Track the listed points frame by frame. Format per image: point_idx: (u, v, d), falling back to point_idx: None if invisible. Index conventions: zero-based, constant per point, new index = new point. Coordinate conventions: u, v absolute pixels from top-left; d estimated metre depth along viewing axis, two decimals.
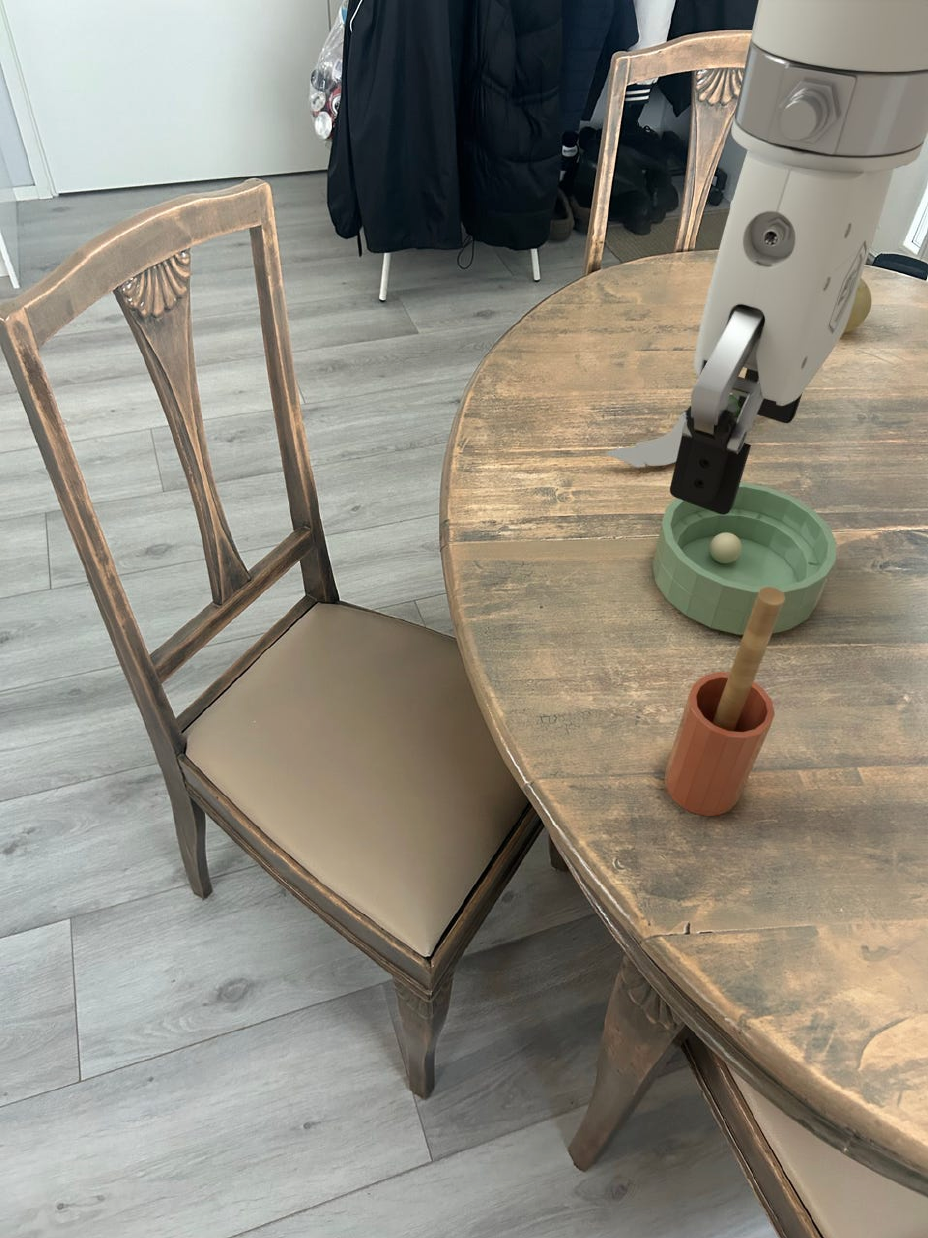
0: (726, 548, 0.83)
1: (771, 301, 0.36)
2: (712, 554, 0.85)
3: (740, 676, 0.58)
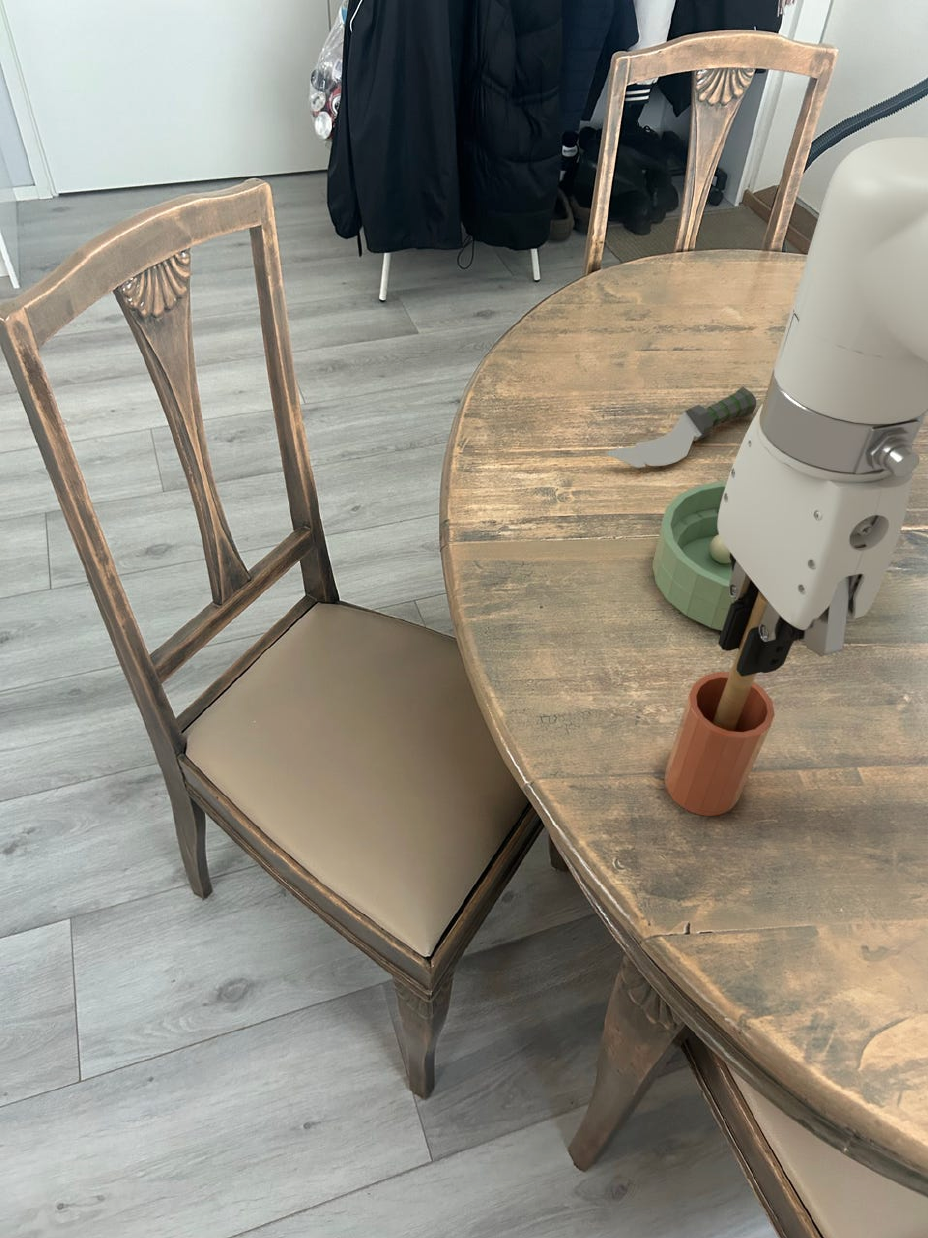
0: (726, 548, 0.83)
1: (869, 565, 0.46)
2: (712, 554, 0.85)
3: (740, 676, 0.58)
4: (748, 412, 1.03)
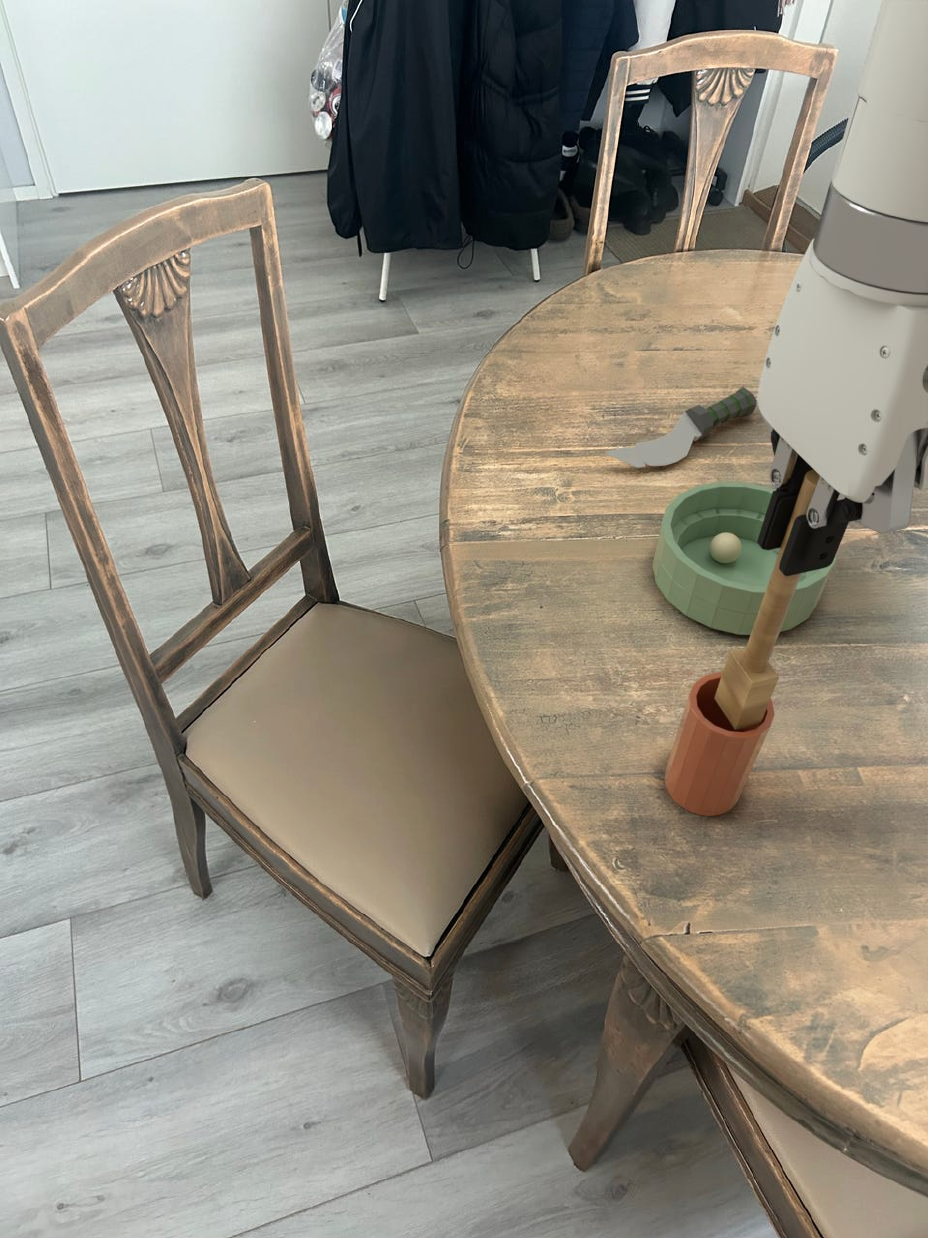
0: (726, 548, 0.83)
1: None
2: (712, 554, 0.85)
3: (782, 579, 0.52)
4: (748, 412, 1.03)
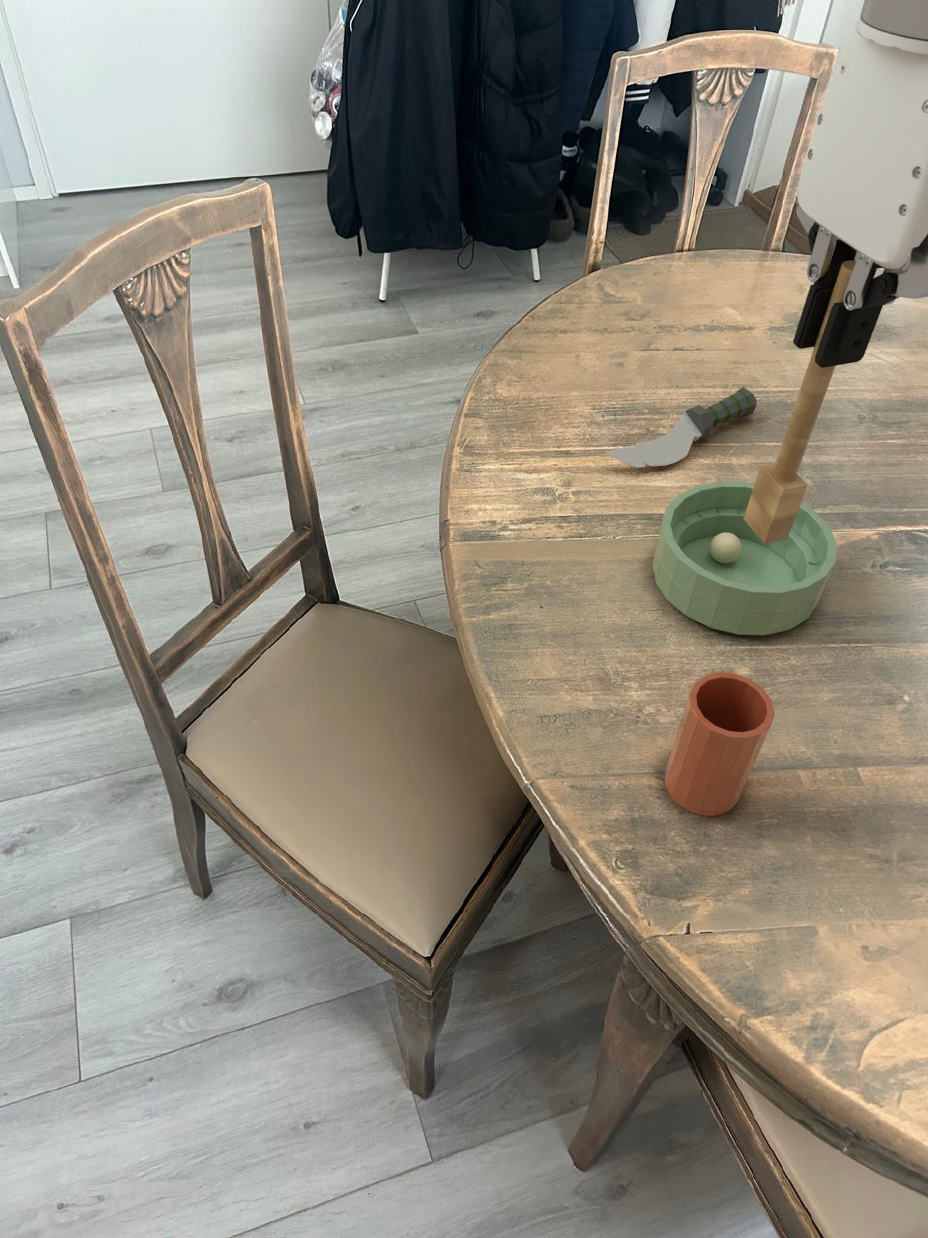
0: (726, 548, 0.83)
1: None
2: (712, 554, 0.85)
3: (815, 376, 0.55)
4: (748, 412, 1.03)
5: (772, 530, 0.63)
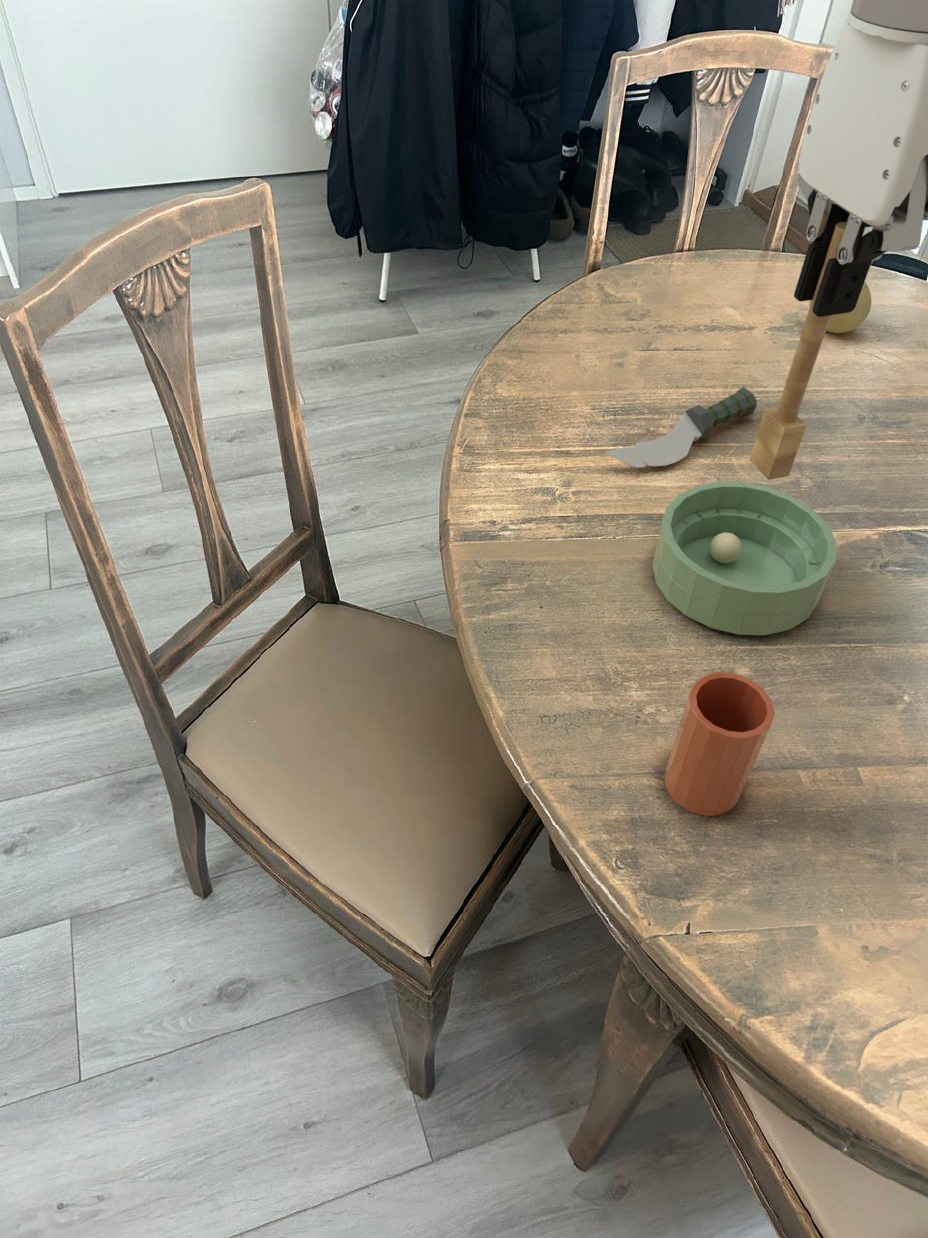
0: (726, 548, 0.83)
1: None
2: (712, 554, 0.85)
3: (813, 325, 0.64)
4: (748, 412, 1.03)
5: (775, 467, 0.72)
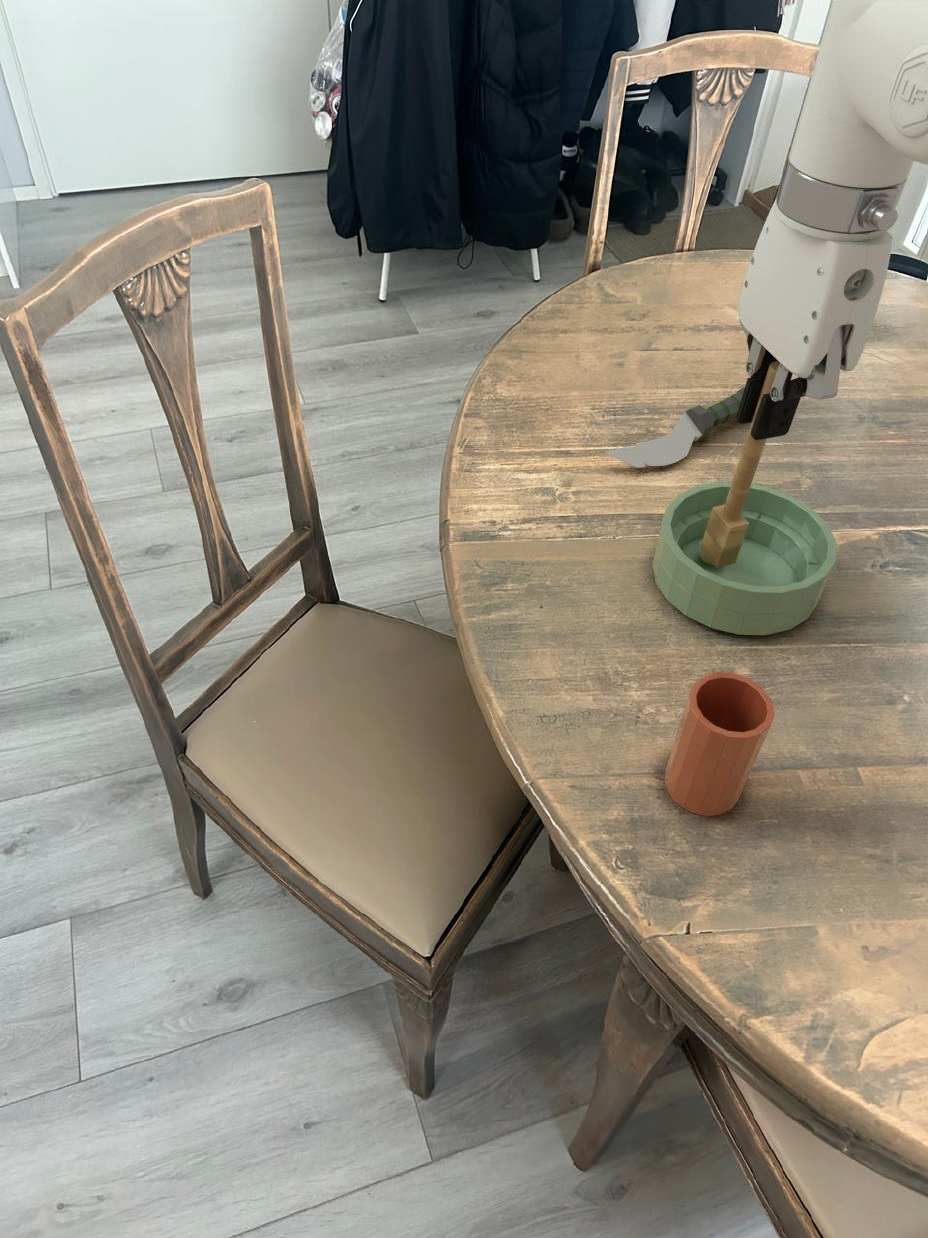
0: (705, 555, 0.84)
1: (858, 317, 0.60)
2: None
3: (752, 444, 0.72)
4: None
5: (722, 558, 0.80)
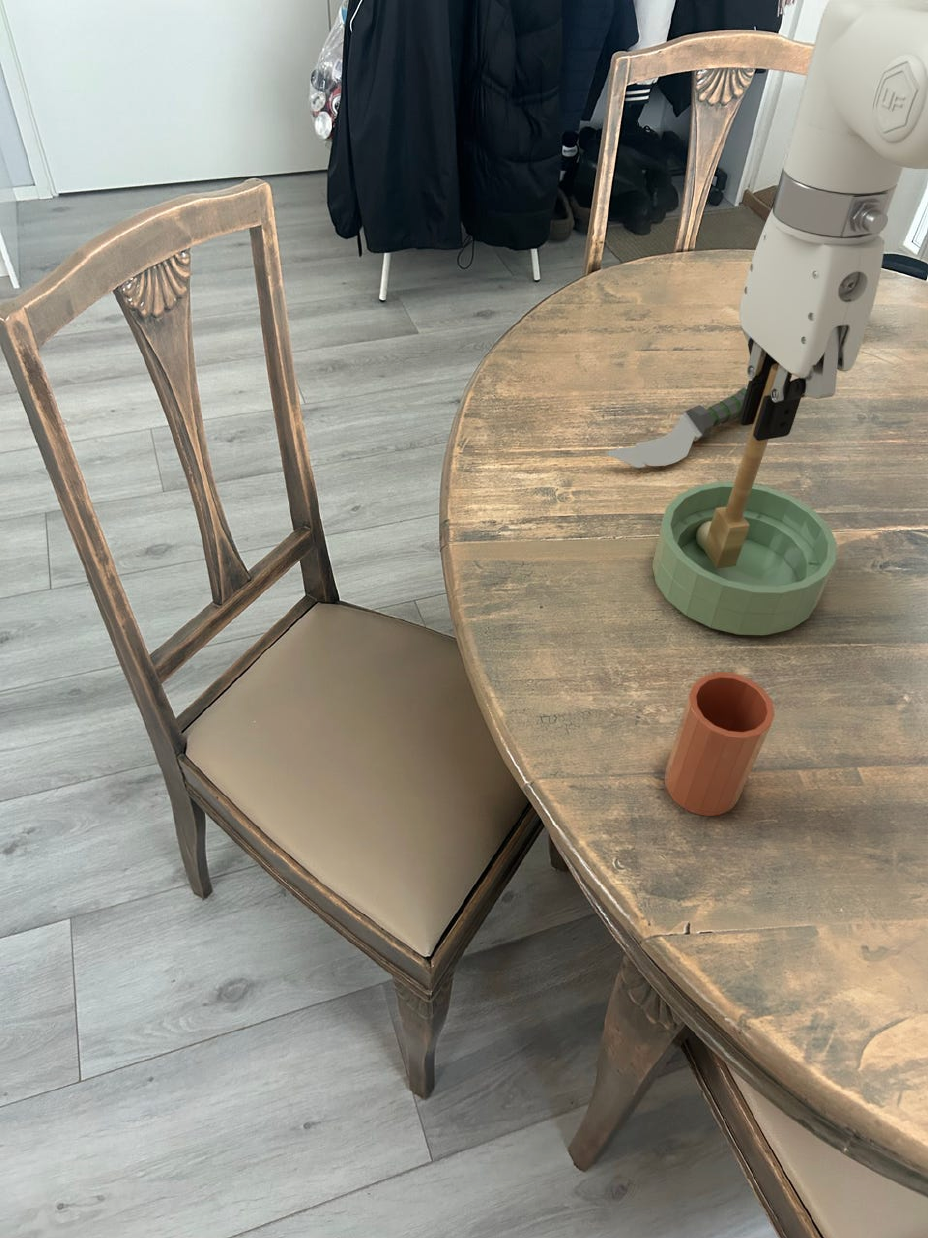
0: (698, 529, 0.86)
1: (853, 317, 0.62)
2: (700, 546, 0.86)
3: (753, 444, 0.74)
4: None
5: (722, 558, 0.82)
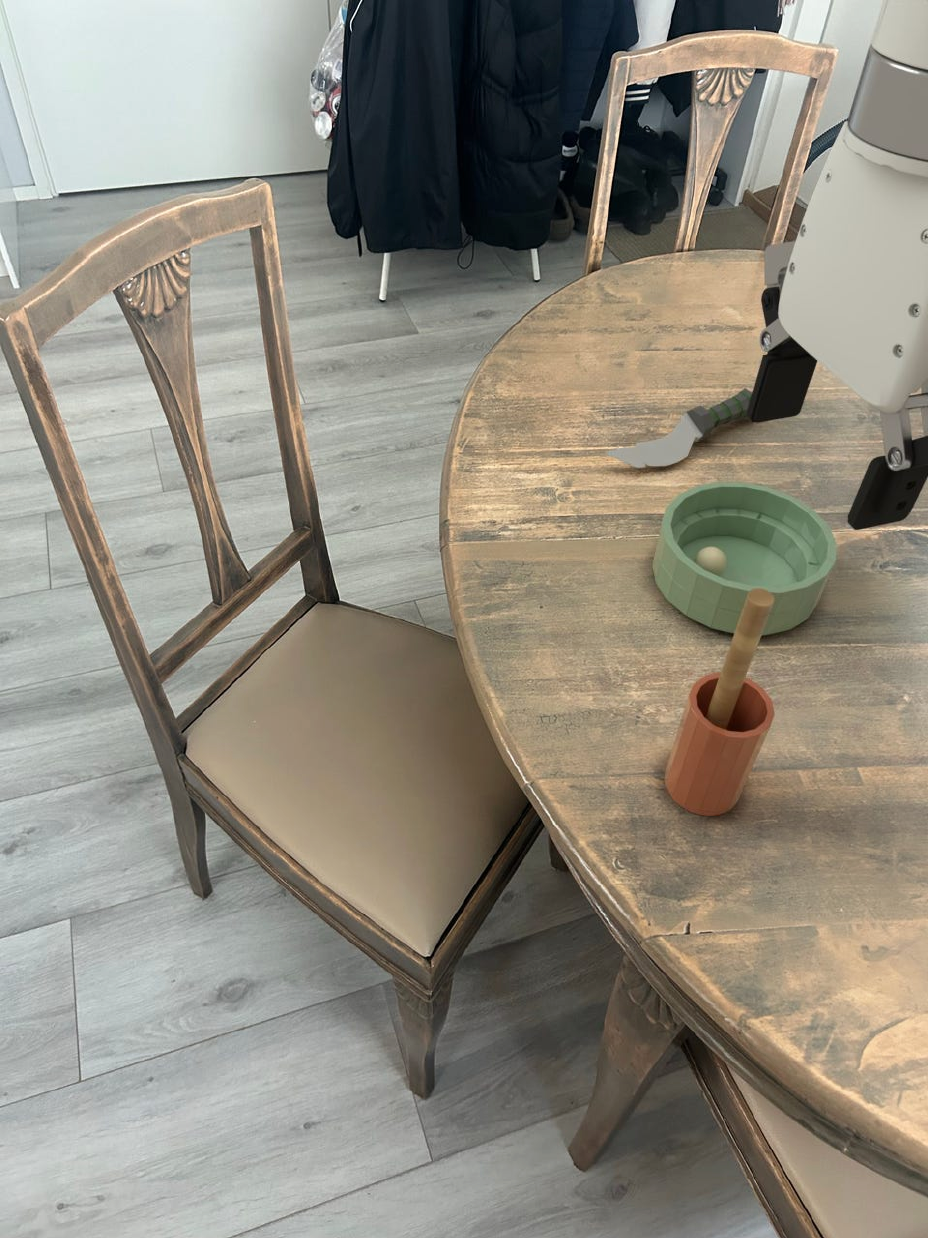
0: (702, 549, 0.84)
1: None
2: None
3: (729, 677, 0.58)
4: None
5: None
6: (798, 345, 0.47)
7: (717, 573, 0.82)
